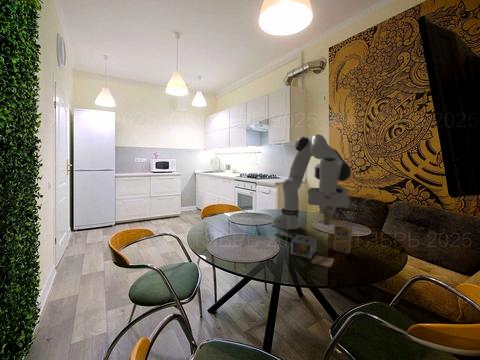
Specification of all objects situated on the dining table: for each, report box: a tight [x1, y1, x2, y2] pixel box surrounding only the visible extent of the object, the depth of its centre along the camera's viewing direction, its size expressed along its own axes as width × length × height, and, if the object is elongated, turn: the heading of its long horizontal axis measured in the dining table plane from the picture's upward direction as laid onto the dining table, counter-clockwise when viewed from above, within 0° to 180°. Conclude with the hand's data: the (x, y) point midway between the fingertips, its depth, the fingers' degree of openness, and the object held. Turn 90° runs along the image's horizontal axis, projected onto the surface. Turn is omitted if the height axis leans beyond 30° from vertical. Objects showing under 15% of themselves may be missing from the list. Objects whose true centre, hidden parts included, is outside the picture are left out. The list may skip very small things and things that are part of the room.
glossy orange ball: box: [300, 244, 308, 251], centre depth 136 cm, size 4×4×3 cm
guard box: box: [290, 233, 318, 260], centre depth 136 cm, size 12×12×8 cm
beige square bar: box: [323, 196, 332, 226], centre depth 122 cm, size 3×3×16 cm
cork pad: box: [310, 254, 335, 268], centre depth 125 cm, size 10×10×1 cm
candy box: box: [332, 224, 353, 255], centre depth 138 cm, size 9×4×15 cm, turn 50°
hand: (327, 214), depth 122 cm, fingers closed on beige square bar, 3 cm apart
